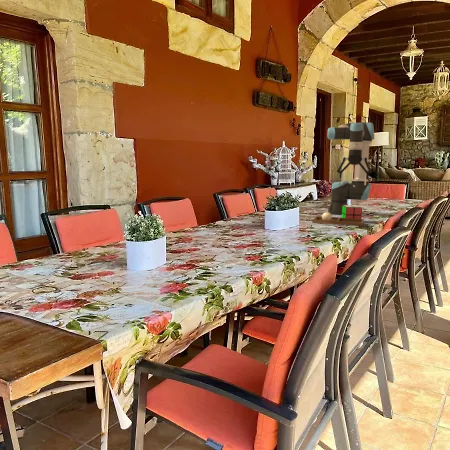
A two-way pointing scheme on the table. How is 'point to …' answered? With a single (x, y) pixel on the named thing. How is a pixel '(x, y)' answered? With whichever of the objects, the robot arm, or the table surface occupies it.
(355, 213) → the puzzle cube
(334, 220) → the brown wooden tray
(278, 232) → the table surface
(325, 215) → the ceramic egg
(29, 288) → the table surface
